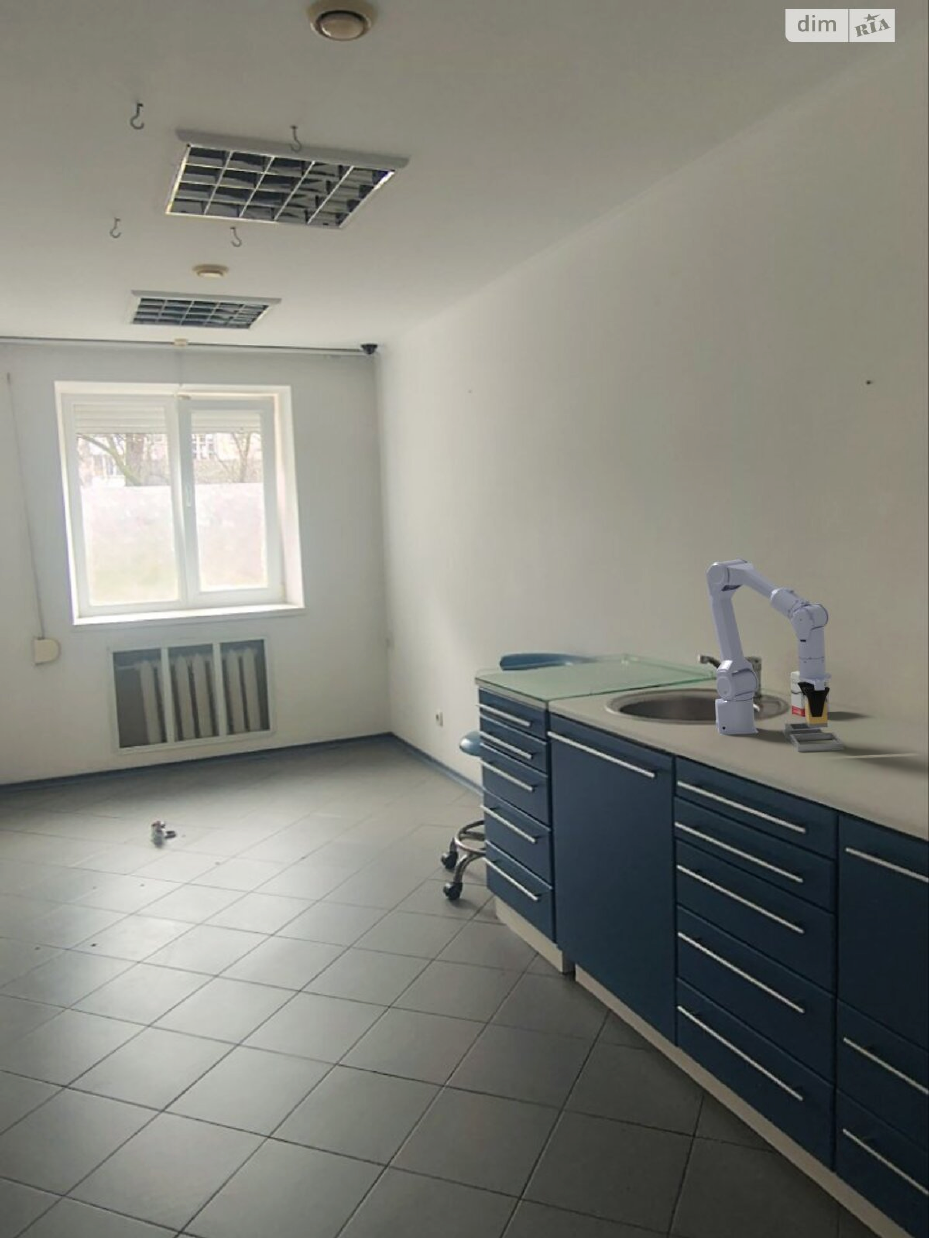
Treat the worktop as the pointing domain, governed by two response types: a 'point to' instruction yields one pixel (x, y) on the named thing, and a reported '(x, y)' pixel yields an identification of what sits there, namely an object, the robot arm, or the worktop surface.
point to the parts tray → (816, 747)
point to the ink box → (801, 695)
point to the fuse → (815, 721)
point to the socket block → (798, 729)
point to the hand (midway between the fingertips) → (814, 714)
